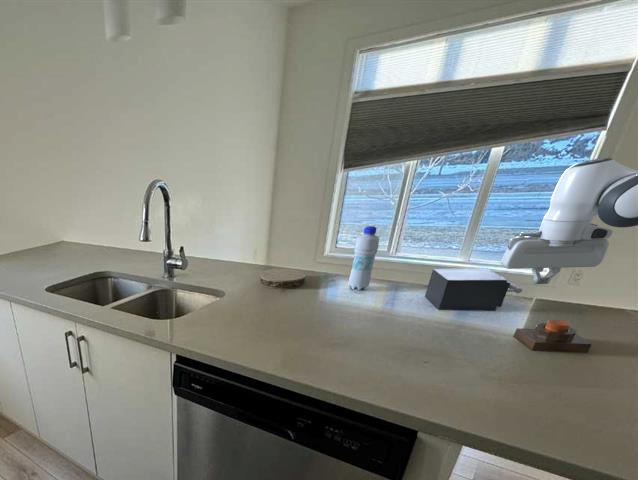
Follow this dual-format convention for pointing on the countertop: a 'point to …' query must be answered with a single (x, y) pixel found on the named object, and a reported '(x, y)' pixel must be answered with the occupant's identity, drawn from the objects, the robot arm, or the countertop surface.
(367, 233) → the bottle
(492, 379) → the countertop surface
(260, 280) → the round wood slice
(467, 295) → the dark navy box
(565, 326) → the button
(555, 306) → the countertop surface
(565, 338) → the control pad
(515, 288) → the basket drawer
